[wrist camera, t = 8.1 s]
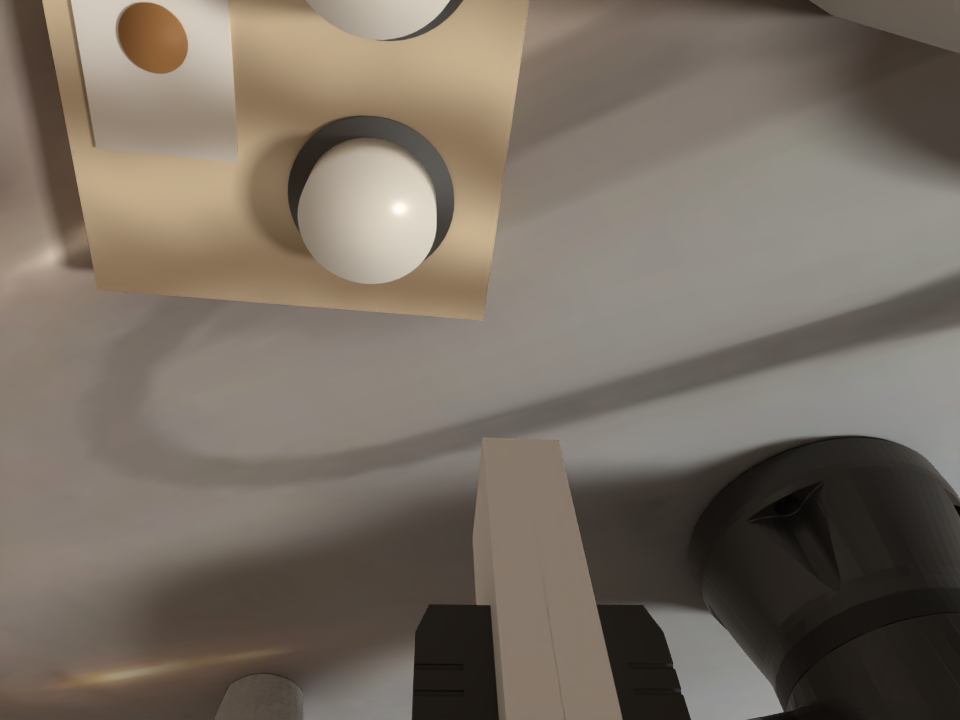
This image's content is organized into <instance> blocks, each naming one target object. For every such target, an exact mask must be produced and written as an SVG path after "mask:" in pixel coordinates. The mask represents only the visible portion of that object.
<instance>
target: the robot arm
mask: <svg viewBox="0 0 960 720" xmlns="http://www.w3.org/2000/svg"><path fill="white" fill-rule="evenodd" d="M473 556H474V574H475V593H476V605H432V604H429V606H428V608H427V610H426V612H425V614H424V616H423V618H422V620H421V622H420V624H419V626H418V628H417V630H416V634H415V656H414V678H413V704H412V720H691V718H690V715H689V712H688V709H687V706H686V703H685V699H684V696H683V695H682V694H681V687H680V683H679V680H678V677H677V674H676V671H675V669H673V661H672V658H671V655H670V652H669V648H668V645H667V642H666V639H665V636H664V633H663V631H662V630H661V628H660V627H659V626H658V624H657V623H656V622H655V621H654V619H653V618H652V617H651V615H650V614H649V613H648V611H647V610H646V609H645V608H644V606H643V605H596V601H595V597H594V592H593V588H592V584H591V579H590V575H589V571H588V566H587V562H586V557H585V553H584V549H583V544H582V540H581V536H580V531H579V527H578V523H577V518H576V514H575V509H574V505H573V501H572V496H571V492H570V488H569V483H568V479H567V475H566V470H565V466H564V461H563V457H562V453H561V448H560V444H559V440H541V439H508V438H483V439H482V449H481V459H480V469H479V479H478V489H477V499H476V509H475V519H474V529H473ZM690 565H691V569H692V572H693V575H694V578H695V580H696V583H697V585H698V588H699V590H700V593H701V596H702V598H703V600H704V602H705V604H706V606H707V608H708V609H709V611H710V613H711V614H712V615H713V616H714V617H715V619H716V620H717V621H718V622H719V623H720V624H721V625H722V626H723V627H725V628H726V629H727V630H728V631H729V633H730V634H731V635H732V637H733V638H734V639H735V640H736V642H737V643H738V644H739V646H740V647H741V648H742V649H743V651H744V652H745V653H746V654H747V655H748V657H749V658H750V659H751V660H752V661H753V663H754V664H755V665H756V666H757V667H758V669H759V670H760V671H761V672H762V673H763V675H764V676H765V677H766V678H767V679H768V681H769V682H770V683H771V685H772V686H773V688H774V690H775V693H776V695H777V697H778V699H779V701H780V704H781V706H782V708H783V711H784V712H783V713H778V714H774V715H769V716H764V717H758V718H753V719H748V720H960V499H959V497H958V495H957V494H956V492H955V491H954V489H953V488H952V487H951V486H950V485H949V483H948V482H947V481H946V480H945V479H944V478H943V477H942V475H941V474H940V473H939V472H938V471H937V470H936V469H935V467H934V466H933V465H932V464H931V463H930V462H929V461H928V460H927V459H926V458H924V457H923V456H922V455H920V454H919V453H917V452H916V451H914V450H912V449H910V448H908V447H905V446H903V445H900V444H897V443H894V442H890V441H885V440H879V439H871V438H844V439H834V440H827V441H822V442H817V443H813V444H809V445H805V446H802V447H799V448H795V449H793V450H790V451H787V452H784V453H782V454H780V455H777V456H775V457H773V458H771V459H769V460H767V461H765V462H763V463H761V464H759V465H757V466H756V467H754V468H752V469H751V470H749V471H747V472H746V473H745V474H743V475H742V476H740V477H739V478H738V479H736V480H735V481H734V482H732V483H731V484H730V485H729V486H728V487H726V488H725V489H724V490H723V491H722V492H721V493H720V494H719V495H718V496H717V497H716V498H715V499H714V501H713V502H712V503H711V504H710V505H709V507H708V508H707V509H706V511H705V512H704V514H703V515H702V517H701V518H700V520H699V522H698V524H697V526H696V528H695V531H694V533H693V536H692V540H691V545H690Z"/></svg>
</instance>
